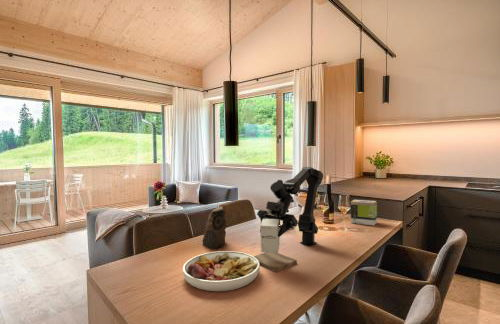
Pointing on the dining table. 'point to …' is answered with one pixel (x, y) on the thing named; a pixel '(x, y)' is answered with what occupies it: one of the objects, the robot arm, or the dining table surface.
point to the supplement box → (270, 235)
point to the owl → (215, 229)
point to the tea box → (364, 212)
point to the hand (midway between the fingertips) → (269, 234)
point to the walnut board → (275, 261)
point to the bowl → (221, 270)
